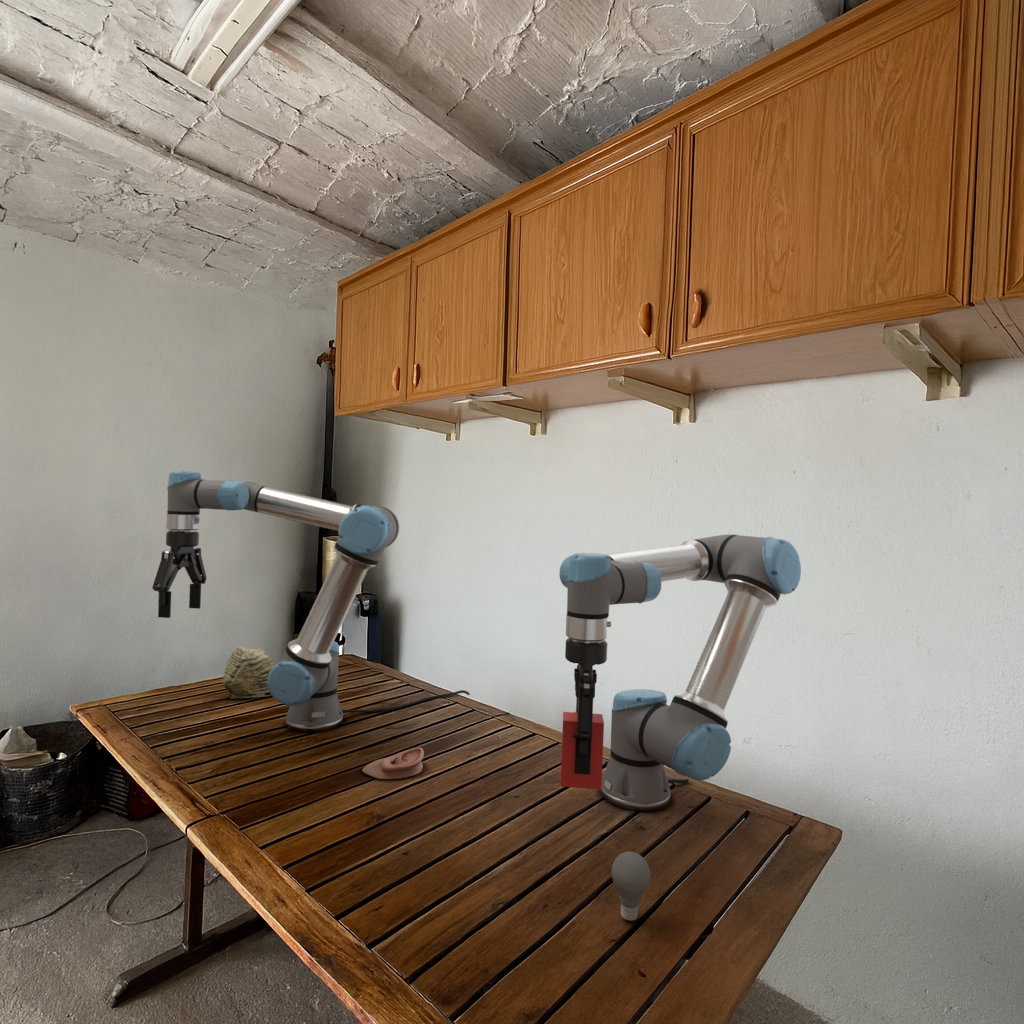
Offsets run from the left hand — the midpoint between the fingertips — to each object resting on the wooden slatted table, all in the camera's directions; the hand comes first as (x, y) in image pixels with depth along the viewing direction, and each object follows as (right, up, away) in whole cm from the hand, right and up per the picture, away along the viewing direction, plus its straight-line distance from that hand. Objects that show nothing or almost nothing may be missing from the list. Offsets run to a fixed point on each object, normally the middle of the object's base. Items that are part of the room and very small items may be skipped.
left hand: (180, 612), depth 164 cm
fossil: (+5, -31, +34) cm, 46 cm away
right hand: (+99, -20, -49) cm, 112 cm away
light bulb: (+104, -37, -65) cm, 129 cm away
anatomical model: (+58, -34, -16) cm, 69 cm away
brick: (+99, -23, -49) cm, 112 cm away
